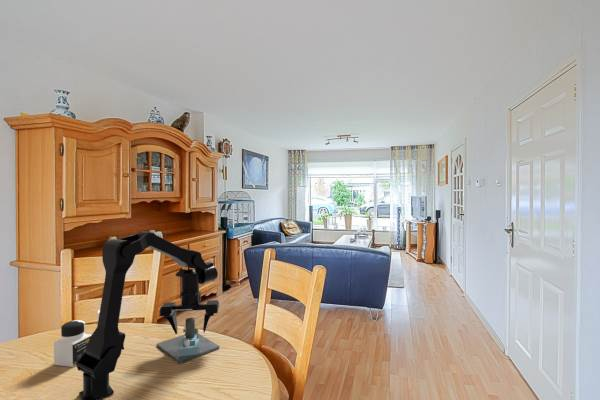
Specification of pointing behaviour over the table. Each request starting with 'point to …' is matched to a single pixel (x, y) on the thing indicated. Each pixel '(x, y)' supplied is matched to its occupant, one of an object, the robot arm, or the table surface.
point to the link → (191, 335)
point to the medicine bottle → (71, 343)
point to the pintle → (187, 342)
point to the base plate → (173, 344)
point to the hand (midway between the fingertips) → (190, 332)
